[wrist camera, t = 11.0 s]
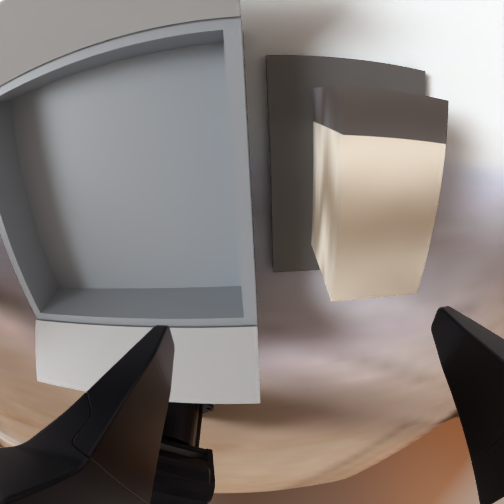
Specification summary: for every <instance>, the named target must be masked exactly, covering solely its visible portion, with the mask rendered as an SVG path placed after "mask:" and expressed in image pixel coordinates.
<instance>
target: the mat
mask: <svg viewBox="0 0 504 504" xmlns="http://www.w3.org/2000/svg"><path fill="white" fill-rule="evenodd" d="M266 73H267V94H268V117H269V142H270V171H271V206H272V252H273V272H286V271H306V270H320V268H319V265H318V262H317V259H316V256H315V254H314V251H313V248H312V245H311V237H312V210H313V88H317V87H328V86H340V85H346V86H358V87H368V88H377V89H385V90H392V91H399V92H405V93H411V94H417V95H423V96H425V71H421V70H417V69H412V68H407V67H402V66H397V65H391V64H385V63H379V62H372V61H364V60H356V59H346V58H335V57H321V56H297V55H266Z"/></svg>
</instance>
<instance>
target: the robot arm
mask: <svg viewBox="0 0 504 504" xmlns="http://www.w3.org/2000/svg"><path fill="white" fill-rule="evenodd" d="M431 331H432V335H433V338H434V341H435V345H436V348H437V351H438V355H439V359H440V362H441V365H442V368H443V371H444V374H445V377H446V379H447V382H448V385H449V388H450V391H451V393H452V396H453V399H454V402H455V405H456V408H457V411H458V415H459V418H460V421H461V424H462V427H463V431H464V435H465V438H466V442H467V445H468V449H469V453H470V457H471V461H472V465H473V470H474V475H475V480H476V484H477V490H478V495H479V501H480V504H492V503H494V502H496V501H498V500H499V499H501V498H503V497H504V339H503V338H501V337H499V336H498V335H496V334H495V333H493V332H491V331H490V330H488V329H486V328H485V327H483V326H481V325H480V324H478V323H477V322H475V321H473V320H472V319H470V318H468V317H467V316H465V315H463V314H461V313H460V312H458V311H456V310H455V309H453V308H451V307H449V306H446V307H440V308H439V309H438V310H437V313H436V315H435V318H434V321H433V323H432V326H431ZM174 352H175V346H174V341H173V338H172V334H171V331H170V328H169V326H167V325H156V326H154V327H153V328H152V329H151V330H150V331H149V332H148V333H147V334H146V335H145V336H144V337H143V338H142V339H141V340H140V341H138V342H137V343H136V344H135V345H134V346H133V347H132V348H131V349H130V350H129V351H128V352H127V353H126V354H125V355H124V356H123V357H122V358H121V359H120V360H119V361H118V362H117V363H116V364H115V365H113V366H112V367H111V368H110V369H109V370H108V371H107V372H106V373H105V374H104V375H103V376H102V377H101V378H100V379H99V380H98V381H97V382H96V383H95V384H94V385H93V386H92V387H91V388H90V389H89V390H88V391H87V393H84V394H83V395H82V396H81V397H80V398H79V399H78V400H77V401H76V402H75V403H74V404H73V405H72V406H71V407H70V408H69V409H68V410H66V411H65V412H64V413H63V414H62V415H60V416H59V417H58V418H57V419H55V420H54V421H53V422H52V423H50V424H49V425H48V426H47V427H45V428H44V429H43V430H41V431H40V432H39V433H38V434H36V435H35V436H34V437H33V438H31V439H30V440H28V441H27V442H25V443H23V444H21V445H18V446H14V447H5V448H0V504H208V503H209V502H210V501H211V499H212V496H213V493H214V488H215V476H214V465H213V453H212V450H211V449H203V448H199V440H200V431H201V422H202V413H205V412H208V411H212V410H213V407H214V406H213V405H212V404H202V403H180V402H169V398H170V393H171V383H172V372H173V362H174Z"/></svg>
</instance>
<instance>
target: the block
mask: <svg viewBox="0 0 504 504" xmlns="http://www.w3.org/2000/svg"><path fill="white" fill-rule="evenodd" d="M447 122H448V101H447V100H442V99H438V98H433V97H428V96H423V95H417V94H411V93H405V92H399V91H392V90H385V89H377V88H368V87H358V86H346V85H340V86H328V87H317V88H313V210H312V237H311V245H312V248H313V251H314V254H315V256H316V259H317V262H318V265H319V268H320V270H321V273H322V276H323V279H324V282H325V285H326V288H327V291H328V294H329V297H330V300H331V301H342V300H354V299H365V298H375V297H386V296H395V295H404V294H413V293H417V291H418V288H419V285H420V281H421V278H422V274H423V270H424V267H425V263H426V259H427V255H428V251H429V246H430V242H431V238H432V233H433V228H434V223H435V218H436V213H437V208H438V202H439V196H440V189H441V183H442V175H443V168H444V159H445V149H446V137H447Z"/></svg>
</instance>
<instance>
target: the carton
mask: <svg viewBox="0 0 504 504" xmlns="http://www.w3.org/2000/svg"><path fill="white" fill-rule="evenodd" d="M0 235H1V238H2V241H3V243H4V246H5V249H6V251H7V254H8V257H9V259H10V262H11V264H12V267H13V269H14V271H15V274H16V276H17V278H18V281H19V283H20V285H21V287H22V289H23V292H24V294H25V296H26V298H27V300H28V302H29V304H30V306H31V308H32V310H33V312H34V314H35V316H36V318H37V320H36V326H35V344H36V371H37V381H40V382H44V383H48V384H52V385H57V386H61V387H66V388H71V389H76V390H81V391H86V392H87V391H88V390H89V389H90V388H91V387H92V386H93V385H94V384H95V383H96V382H97V381H98V380H99V379H100V378H101V377H102V376H103V375H104V374H105V373H106V372H107V371H108V370H109V369H110V368H111V367H112V366H113V365H115V364H116V363H117V362H118V361H119V360H120V359H121V358H122V357H123V356H124V355H125V354H126V353H127V352H128V351H129V350H130V349H131V348H132V347H133V346H134V345H135V344H136V343H137V342H138V341H140V340H141V339H142V338H143V337H144V336H145V335H146V334H147V333H148V332H149V331H150V330H151V329H152V328H153V327H154V326H156V325H167V326H169V328H170V331H171V334H172V338H173V341H174V346H175V352H174V362H173V372H172V383H171V393H170V398H169V402H180V403H202V404H256V403H260V378H259V352H258V327H257V290H256V270H255V251H254V231H253V212H252V193H251V174H250V155H249V137H248V118H247V100H246V82H245V64H244V46H243V30H242V22H241V15H240V0H3V1H1V2H0Z"/></svg>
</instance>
